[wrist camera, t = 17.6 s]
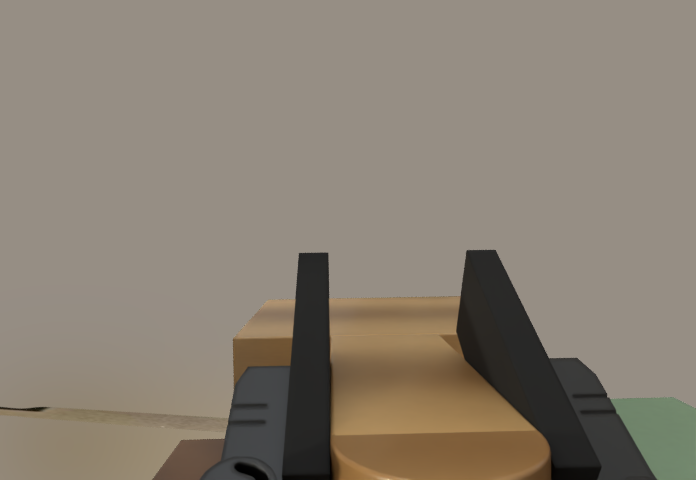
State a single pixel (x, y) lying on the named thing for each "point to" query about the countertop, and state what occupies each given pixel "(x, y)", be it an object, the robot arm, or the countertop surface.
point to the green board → (662, 434)
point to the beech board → (403, 393)
